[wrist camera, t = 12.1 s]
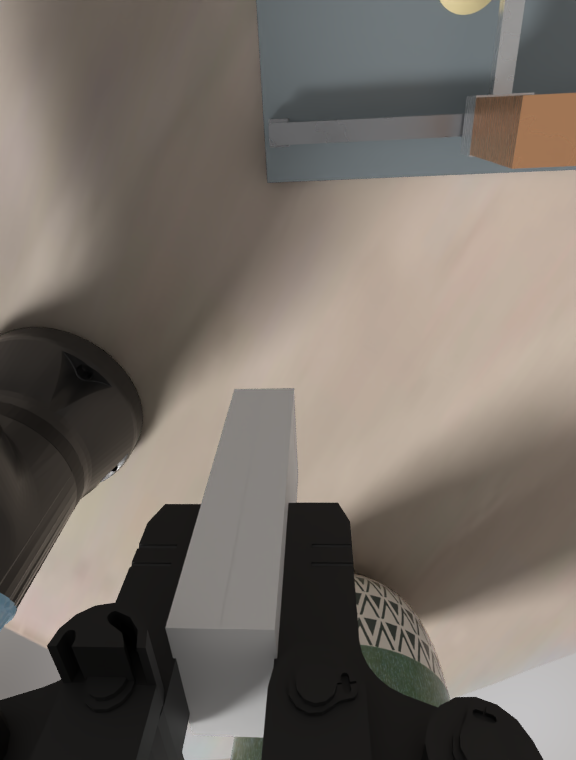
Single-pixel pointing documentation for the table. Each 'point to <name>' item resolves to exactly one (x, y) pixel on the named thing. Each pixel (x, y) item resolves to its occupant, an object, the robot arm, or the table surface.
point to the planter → (384, 653)
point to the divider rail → (364, 129)
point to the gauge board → (397, 76)
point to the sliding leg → (518, 111)
